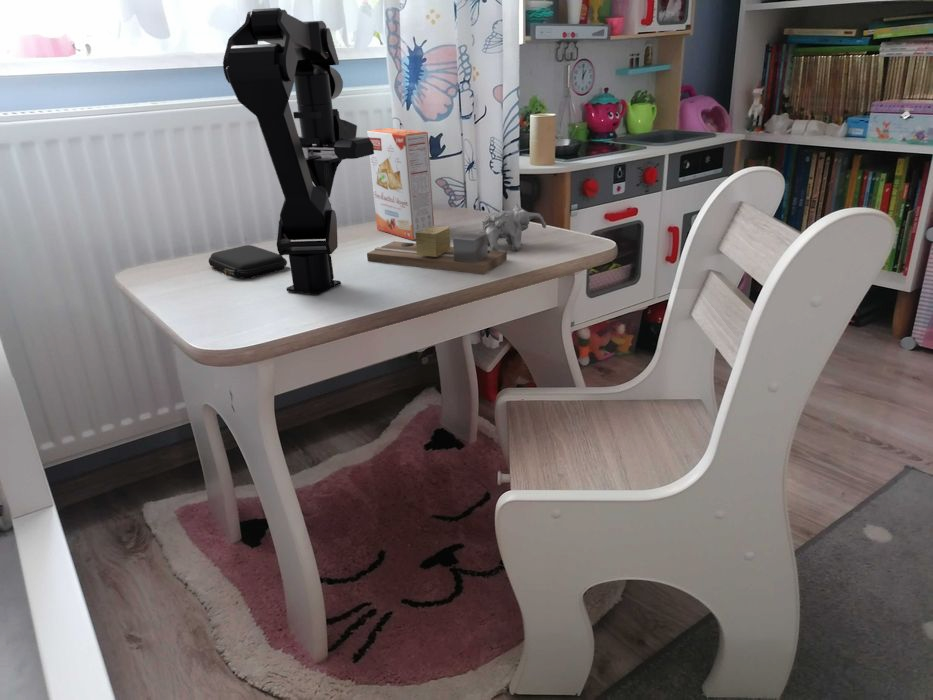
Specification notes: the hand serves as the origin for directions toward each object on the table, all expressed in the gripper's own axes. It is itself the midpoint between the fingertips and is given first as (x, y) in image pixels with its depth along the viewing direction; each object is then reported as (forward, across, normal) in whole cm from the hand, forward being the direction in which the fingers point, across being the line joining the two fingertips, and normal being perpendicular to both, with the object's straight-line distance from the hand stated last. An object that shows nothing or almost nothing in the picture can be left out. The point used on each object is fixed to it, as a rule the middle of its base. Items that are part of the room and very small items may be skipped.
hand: (326, 197), depth 122 cm
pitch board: (+12, -17, -8) cm, 22 cm away
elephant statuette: (+12, -26, -22) cm, 36 cm away
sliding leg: (+10, -18, -8) cm, 22 cm away
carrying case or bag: (+13, +14, +8) cm, 21 cm away
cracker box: (+12, 0, -24) cm, 27 cm away
